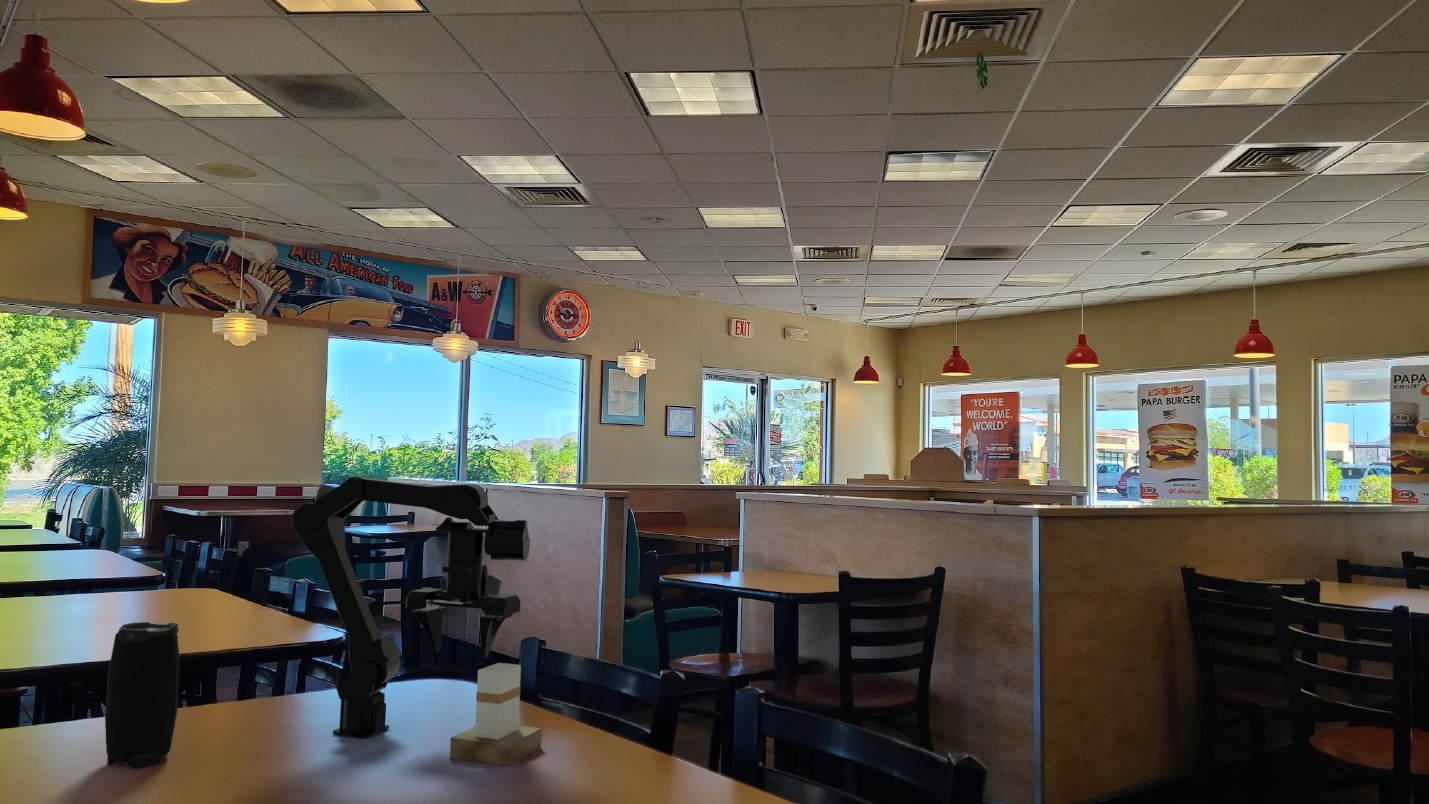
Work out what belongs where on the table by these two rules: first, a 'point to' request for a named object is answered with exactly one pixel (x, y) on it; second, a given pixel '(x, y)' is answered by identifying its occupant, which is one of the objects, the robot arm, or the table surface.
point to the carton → (497, 700)
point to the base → (496, 746)
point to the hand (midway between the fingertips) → (460, 654)
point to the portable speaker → (142, 694)
